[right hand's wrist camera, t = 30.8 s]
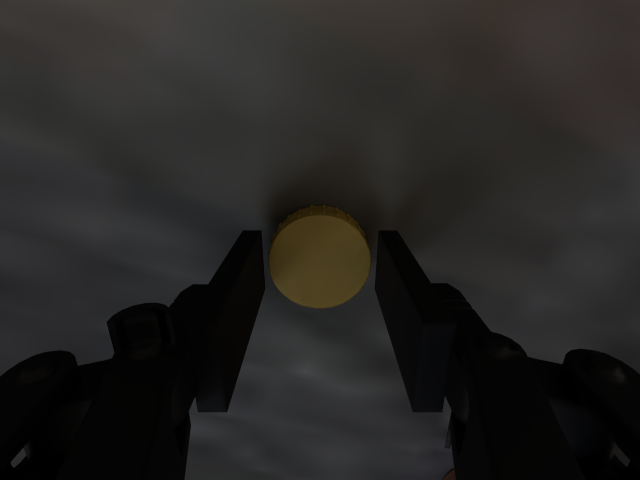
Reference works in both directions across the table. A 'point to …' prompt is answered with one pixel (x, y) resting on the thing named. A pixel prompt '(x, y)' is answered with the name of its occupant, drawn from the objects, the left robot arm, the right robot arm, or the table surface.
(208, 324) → the right robot arm
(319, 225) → the cap
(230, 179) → the table surface
